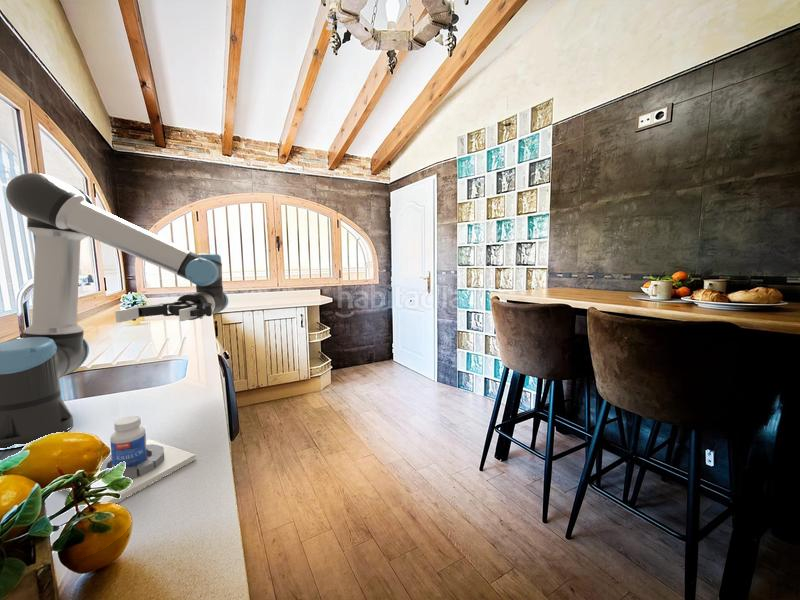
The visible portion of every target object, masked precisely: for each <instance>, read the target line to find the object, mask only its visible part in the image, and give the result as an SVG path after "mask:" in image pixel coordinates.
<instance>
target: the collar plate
mask: <svg viewBox="0 0 800 600" xmlns="http://www.w3.org/2000/svg"><path fill="white" fill-rule="evenodd" d="M146 452H147V460H146V461H144V462H142V463H140V464H138V465H136V466H133V467H130V468H126V469H125V471H124V473H123V476H125V477H129V478H131V479H132V480H133V483H132V484H131V486H130V487H129V488H127V489H126V490H124V491H122V492H119V494H120V495H121V498H120V499H115V498H111V497H104V498H103V499H102V500H101V502H102V503H106V502H112V503H117V504H119V503H121V502H123V501H124V500H126V499H127V498H126V497H127V496H129V495H131V494H133V493H135V492H137V491H139V490H140V489H142V488H144V487H145V486H147V485H149V484H151V483H152V482H155V481H156V480H158V481H160V480H161V479H160V478H162V477H163V476H165V475H167V474H169V473H171V472H173V471H175V470H177V469H178V470H180V469H181V467H182V468H183V466H184V465H186V464H187V465H189V464H190V462H191V463H192V461H193V462H195V461H196V460H197V456H196V453H192V452H189V451H186V450H183V449H180V448H177V447H174V446H171V445H168V444H165V443H162V442H159V441H156V440H154V439H153V440H152V439H146ZM108 456H109V457H108V458H107V457H106V458H107V459H106V460H105V461H104V462H103V464H102V466H101V468H100V471H102V470H104V469H106V468H112V457H111V454H110V455H108ZM194 460H195V461H194ZM188 463H189V464H188ZM187 465H186V466H187ZM184 467H185V466H184ZM179 468H180V469H179ZM178 470H177V471H178ZM175 472H176V471H175ZM173 473H174V472H173ZM171 474H172V473H171ZM169 475H170V474H169ZM159 479H160V480H159ZM162 479H163V478H162ZM155 483H156V482H155ZM151 485H152V484H151ZM149 486H150V485H149ZM144 489H145V488H144ZM142 490H143V489H142ZM65 491H67V492H69V493H70V489H67V490H65ZM140 491H141V490H140ZM140 491H139V492H140ZM137 493H138V492H137ZM135 494H136V493H135ZM133 495H134V494H133ZM131 496H132V495H131ZM125 498H126V499H125ZM123 499H124V500H123Z"/></svg>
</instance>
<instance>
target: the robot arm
mask: <svg viewBox="0 0 800 600" xmlns="http://www.w3.org/2000/svg"><path fill="white" fill-rule="evenodd" d="M5 195H6V199H7V201H8V203H9V204H10V206H11V207H12V208H13V209H14V210H15V211H16V212H18V213H19V214H21V215H23V216H24V217H27V224H26V225H27V230H28V231H30V232H31V233H33V234H34V236H35V240H34V241H35V245H34V264H33V265H34V268H33V269H34V272H33V290H32V291H33V294H32V296H33V297H32V319H31V320H32V321H31V324H30V325H29V326H28V327H26V328H25V329H24V330H23V331H22V338H16V339H11V340H10V341H9V340H8V341H2V342H0V448H7V447H10V446H12V445H14V444H26V443H29V442H31V441H33V440H36V439H38V438H40V437H43V436H45V435H48V434H51V433H56V432H63V431H66V432H67V431H69V430H67V429H68V428H70V427H71V426H72V427H73V426H74V418H73V414H72V413H71V411H70V410H69V408H68V407H67V404H65V402H64V401H63V398H62V396H61V384H60V379H61V378H63V377H65V376H67V375H68V374H71V373H73V372H74V371H76V370H77V369H79V368H80V367H81V366H82V365H83V364H84V363H85V362H86V360H87V358H88V356H89V353H90V346H89V343H88V341H87V340H86V339H85V338H84V328H83V327H82V326H80V325H79V324H78V321H77V320H78V303H79V301H78V300H79V299H78V298H79V279H80V261H81V259H80V257H81V255H80V254H81V242H82V240H84V239H86V238H87V237H89V238H90V239H91V238H92V239H93V240H95V241H98V242H100V243H103V244H105V245H107V246H110V247H112V248H114V249H117V250H119V251H121V252H123V253H126V254H128V255H131V256H132V257H135V258H137V259H140V260H142V261H145V262H147V263H149V264H152V265H154V266H156V267H158V268H161V269H163V270H166V271H168V272H170V273H172V274H175V275H176V276H179V277H181V278H184V279H185V280H188V281H189V282H190V283H192V284H194V285H195V289H196V292H193V293H192V292H191V293H187V294H186V293H185V294H183V295H181V296H180V297H179V298H178V299H177V300H176V301H173V302H163V303H158V304H151V305H150V304H146V305H140V306H139V305H137V306H125V309H118V310H115V322H116V323H123V322H128V321H135V322H136V321H137V320H138V319H140V318H143V317H152V316H163V317H172V316H176V317H178V319H179V322H186V321H194V320H197V319H199V320H203V318H204V317H212V315H214V314H218V313H220V312H222V311H224V310H225V309H226V308H227V307H228V304H229V297H228V296H227V294H226V293H225V292H224V287H223V268H222V267H223V263H222V257H221V255H220V254H216V253H195V252H193V251H190V250H188V249H186V248H184V247H182V246H180V245H178V244H176V243H173V242H171V240H170V241H169V240H167V239H166V238H163V237H161V236H159V235H157V234H155V233H152V232H150V231H148V230H147V229H144V228H142V227H140V226H138V225H135V224H133V223H131V222H129V221H127V220H125V219H123V218H120V217H118V216H117V215H114V214H112V213H110V212H108V211H106V210H104V209H101V208H99V207H97V206H95V203H94V202H93V200H92V199H91V197H89V196H88V194H86V193H85V192H84V191H83V190H82V189H79V188H78V187H76V186H74V185H71V184H68V183H66V182H64V181H61V180H59V179H58V178H56V177H53V176H50V175H48V174H44V173H36V172H31V173H30V172H28V173H22V174H20V175H17V176H15V177H13V178H12V179H11V180H10V181H9V182H8V184H7V185H6V188H5ZM72 427H71V428H72ZM71 428H70V429H71Z"/></svg>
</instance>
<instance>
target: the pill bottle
mask: <svg viewBox="0 0 800 600" xmlns="http://www.w3.org/2000/svg"><path fill="white" fill-rule="evenodd" d="M141 423H142V421H141V417H140V415H130V416H125V417H122V418H119V419H117V420H115V421H114V432H113V433H112V434H111V435H110V441H109V443H110V455H111V457H112V467H114V466H116V465H117V464H119V463H120V462H123V461H125V462H126V468H130V467H133V466H136V465H138V464H140V463H142V462H144V461H146V460H147V452H146V441H147V439H146V438H147V437H146V436H147V435H146V428H145V427H144V426H142V425H141Z"/></svg>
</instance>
